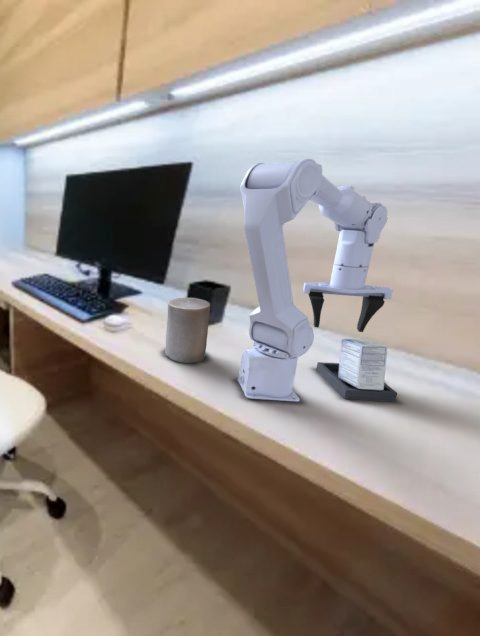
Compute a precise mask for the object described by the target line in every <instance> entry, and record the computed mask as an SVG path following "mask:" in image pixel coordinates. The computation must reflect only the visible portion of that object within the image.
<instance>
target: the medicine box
mask: <svg viewBox="0 0 480 636" xmlns="http://www.w3.org/2000/svg"><path fill="white" fill-rule="evenodd" d="M339 353H340V354H339V374H338V378H339V379H341V380H343V381H345V382H347V383H349V384H351V385H352V386H354V387H356V388H358V389H367V390H381V391H382V390H383V389H384V383H385V380H386V379H385V378H386V368H387V359H388V358H387V356H388V346H387V345H384V344H381V343H378V342H375V341H372V340H368V339H363V338H361V339H360V338H342V339H341V342H340V352H339Z"/></svg>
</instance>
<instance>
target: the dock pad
mask: <svg viewBox="0 0 480 636" xmlns="http://www.w3.org/2000/svg"><path fill="white" fill-rule="evenodd" d="M339 363H340V362H339ZM339 363H338V362H323V361H322V362H321V361H320V362H319V361H318V362H317V364H316V369H315V371H317V372H318V373H319V375H320V376H321V377H322V378H324V380H325V381H326V382H327V383H328V384H329V385H330V386H331V387H332V388H333V389H334V390H335V391H336V392H337V393H338V394H339V395H340V396H341V397H342V398H343V399H345V400H359V401H373V402H374V401H376V402H390V403H392V402H393V403H396V401H397V398H398V394H399V393H398V392H397V391H396V390H395V389H393V388H392V387H391V386H390V385H388V383H386V382H384V389H383V390H382V391H381V390H367V389H358V388H356V387H354V386H352V385H351V384H349V383H347V382H345V381H343V380H341V379H339V378H338V374H339Z"/></svg>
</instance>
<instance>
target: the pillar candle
mask: <svg viewBox="0 0 480 636" xmlns="http://www.w3.org/2000/svg"><path fill="white" fill-rule="evenodd" d="M210 311H211V303H210V302H209V301H207V300H205V299H201V298H197V297H176V298H172V299H169V300H168V301H167V313H166V314H167V316H166V330H165V332H166V333H165V349H164V354H165V356H167V357H168V358H169V359H170V360H171V361H174V362H178V363H183V364H184V363H185V364H195V363H198V362H202V361H204V360H205V359H206V351H207V343H208V332H209V322H210V314H211V313H210Z"/></svg>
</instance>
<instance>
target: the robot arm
mask: <svg viewBox="0 0 480 636" xmlns="http://www.w3.org/2000/svg"><path fill="white" fill-rule="evenodd" d="M239 190H240V197H241V201H242V205H243V206H242V207H243V212H244V219H243V228H244V233H245V234H244V235H245V239H246V244H247V249H248V255H249V259H250V264H251V270H252V275H253V280H254V285H255V290H256V295H257V301H258V306H257V307H255V309H253V311H252V312H251V313H250V314H249V316H248V317H249V321H250V322H249V323H250V324H249V328H248V334H249V338H250V340H251V341H252V342H253V347H252V348H245V349H243V351H242V353H241V358H240V366H239V367H240V368H239V372H238V373H239V374H238V378H237V382H238V384H239V386H240V388H241V389H242V392H243V393H244V396H245V398H247V399H251V400H252V399H254V400H266V401H267V400H268V401H283V402H300V397H299V396H298V395H297V393H296V392H295V391H294V390H293V388H294V380H295V376H296V372H297V366H298V362H299V357H302V356H304V355H305V354H307V352H309V350H310V349H311V347H312V346H313V343H314V340H315V333H314V329H313V327H314V328H319V327H320V322H321V315H322V310H323V307H324V302H325V299H324V295H334V296H351V297H361V298H362V303H361V309H360V313H359V317H358V321H357V325H356V329H357V331H358V332H359V333H363V332H364V331H365V329H366V327H367V325H368V323H369V322H370V321H371V319H372V318H373V316H375V314H376V313H377V312H378V311H379V310H381V308H383V306H384V305H385V302H386V301H385V300H391V299H392V295H393V291H394V290H393V289H392V288H391V287H387V286H386V287H385V286H377V285H368V284H366V281H367V277H368V272H369V269H370V264H371V260H372V255H373V251H374V246H375V243H378V241H379V239H380V237H381V232H382V231H383V230H384V228H385V226H386V225H387V223H388V219H389V218H388V208H387V207H386V206H385V205H383V204H382V203H381V202H371V201H369V200H368V199H367V197H366V196H364V195H361V194H359V193H358V192H356V191H355V187H354V186H353V185H350V184H349V185H347V184H346V185H340V186H336V185H335V184H334V183H332V182H331V181H330V180H329V179H328V178H327V177H326V176H325V175H323V165H322V164H319V163H318V162H316V161H315V159H313V158H303V159H301V160H290V161H277V162H267V163H266V162H257V163H255V164H253V165H252V166H251V167H250V168H249V169H248V170H247V172H246V173H245V176H244V178H243V179H242V182H241V184H240V186H239ZM309 201H311V202H313V203H315V204H317V205H318V210H319V213H320V215H322V216H324V217H325V218H327V219H329V220H330V221H332V222H333V223H334V228H335V230H336V232H339V236H338V240H337V245H336V249H335V255H334V261H333V266H332V270H331V276H330V279H329V280H330V281H329V282H303V289H302V292H303V294H308V298H309V301H310V305H311V309H312V313H313V314H312V315H313V327H312V326H311V325H310V323H309V317H308V316H307V315H306V314H305V313H304V312H303V311H301V310H300V309H299V308H298V307H297V306H296V305H295V304H294V298H293V291H292V284H291V277H290V270H289V263H288V257H287V249H286V243H285V235H284V230H283V227H284V225H285V224H287V223H288V222H292V221H293V220H294V219H295V218H296V217H297V216H298V214H299V213H300V212H301V211H302V210H303V208H304V207H305V206H306V204H307V203H308V202H309Z"/></svg>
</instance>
